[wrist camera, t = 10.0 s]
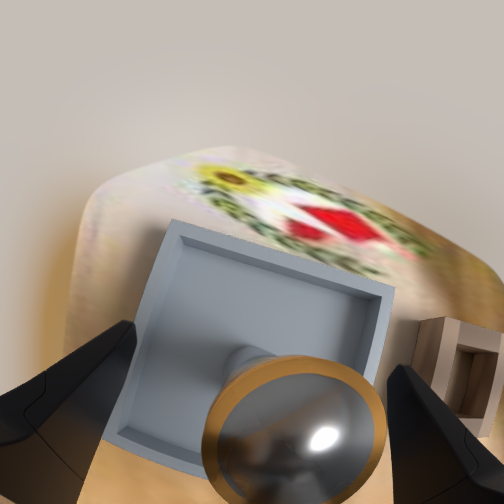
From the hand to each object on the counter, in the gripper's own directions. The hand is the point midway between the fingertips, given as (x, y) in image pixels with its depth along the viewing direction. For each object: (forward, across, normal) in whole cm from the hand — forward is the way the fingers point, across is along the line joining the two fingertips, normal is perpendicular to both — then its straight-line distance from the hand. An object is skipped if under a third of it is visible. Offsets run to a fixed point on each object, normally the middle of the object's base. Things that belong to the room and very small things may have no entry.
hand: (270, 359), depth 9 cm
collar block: (+6, -15, +7) cm, 18 cm away
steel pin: (+5, 0, +7) cm, 9 cm away
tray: (+6, 0, +7) cm, 9 cm away
